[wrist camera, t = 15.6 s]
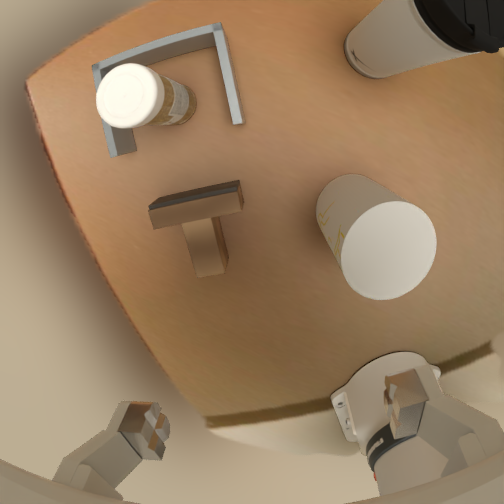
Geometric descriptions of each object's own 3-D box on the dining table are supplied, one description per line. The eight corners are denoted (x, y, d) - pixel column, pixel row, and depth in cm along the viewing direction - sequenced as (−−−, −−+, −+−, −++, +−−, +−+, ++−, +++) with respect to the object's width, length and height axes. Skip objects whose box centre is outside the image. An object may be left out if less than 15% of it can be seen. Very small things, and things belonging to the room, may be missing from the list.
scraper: (254, 253, 36) (253, 268, 32) (179, 266, 37) (170, 282, 33) (239, 180, 33) (236, 187, 29) (159, 197, 34) (147, 206, 30)
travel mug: (340, 74, 28) (438, 22, 9) (345, 20, 25) (431, -70, 7) (395, 88, 28) (526, 71, 9) (399, 35, 25) (517, -19, 7)
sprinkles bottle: (152, 122, 30) (88, 126, 18) (160, 81, 29) (100, 61, 16) (193, 128, 31) (149, 132, 18) (202, 86, 29) (162, 63, 16)
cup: (302, 197, 33) (322, 236, 22) (366, 160, 31) (416, 181, 20) (336, 257, 36) (365, 316, 25) (396, 223, 34) (446, 268, 23)
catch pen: (245, 123, 30) (242, 122, 26) (130, 152, 32) (110, 157, 27) (226, 36, 27) (220, 22, 22) (113, 71, 28) (91, 65, 23)
